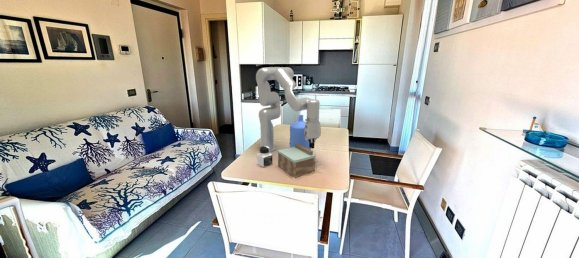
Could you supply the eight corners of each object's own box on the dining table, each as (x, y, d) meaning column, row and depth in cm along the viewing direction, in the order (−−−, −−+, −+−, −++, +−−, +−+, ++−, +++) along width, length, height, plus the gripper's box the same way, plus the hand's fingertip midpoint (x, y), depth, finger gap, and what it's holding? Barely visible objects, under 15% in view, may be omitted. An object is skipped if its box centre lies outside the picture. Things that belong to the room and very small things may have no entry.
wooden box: (278, 166, 151) (278, 153, 149) (297, 161, 159) (297, 148, 156) (294, 177, 137) (294, 163, 134) (314, 171, 144) (315, 157, 142)
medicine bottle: (263, 167, 149) (263, 150, 146) (257, 164, 154) (256, 146, 151) (272, 164, 154) (272, 147, 150) (266, 161, 159) (265, 144, 155)
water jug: (309, 157, 164) (311, 118, 156) (287, 156, 167) (287, 117, 159) (312, 149, 179) (313, 113, 171) (291, 148, 182) (292, 112, 174)
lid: (277, 152, 149) (277, 146, 147) (297, 148, 156) (297, 142, 155) (294, 163, 134) (294, 156, 133) (315, 157, 142) (315, 151, 141)
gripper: (306, 122, 139) (305, 152, 144) (326, 119, 146) (324, 147, 152) (299, 120, 145) (298, 148, 150) (318, 117, 152) (317, 143, 158)
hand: (311, 147), depth 151 cm, fingers closed
